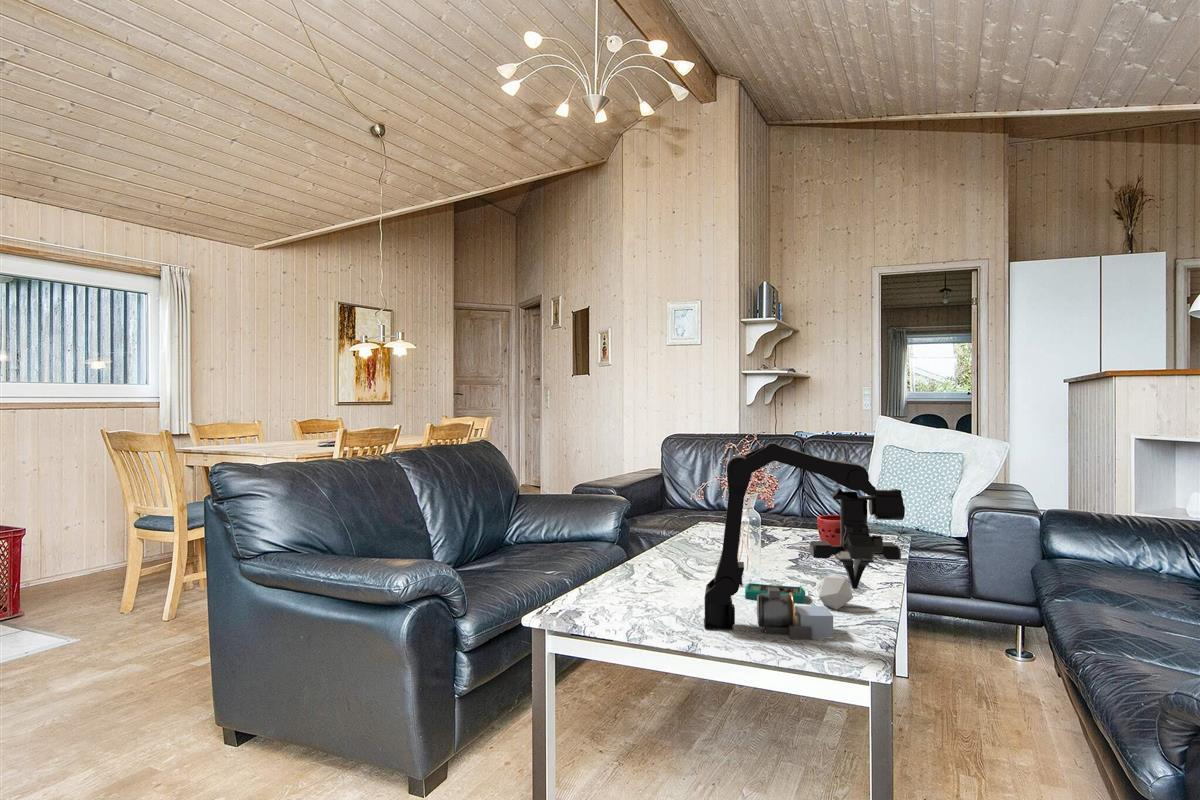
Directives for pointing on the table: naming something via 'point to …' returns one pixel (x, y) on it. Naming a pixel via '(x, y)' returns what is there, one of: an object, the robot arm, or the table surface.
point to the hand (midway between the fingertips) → (854, 588)
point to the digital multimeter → (756, 589)
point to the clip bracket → (800, 632)
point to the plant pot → (829, 529)
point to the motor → (775, 611)
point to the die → (834, 591)
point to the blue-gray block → (815, 620)
